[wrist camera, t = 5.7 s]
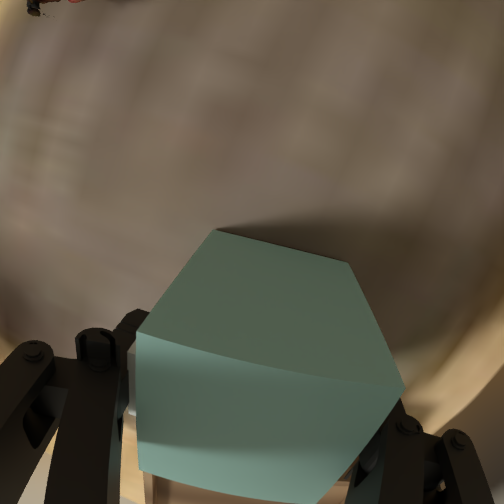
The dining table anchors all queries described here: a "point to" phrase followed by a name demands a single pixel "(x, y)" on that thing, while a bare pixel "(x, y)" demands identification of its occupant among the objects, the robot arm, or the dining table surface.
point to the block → (260, 373)
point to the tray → (202, 500)
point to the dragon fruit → (33, 7)
